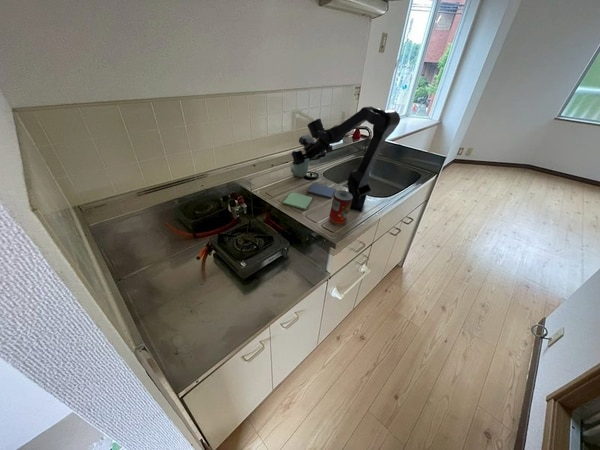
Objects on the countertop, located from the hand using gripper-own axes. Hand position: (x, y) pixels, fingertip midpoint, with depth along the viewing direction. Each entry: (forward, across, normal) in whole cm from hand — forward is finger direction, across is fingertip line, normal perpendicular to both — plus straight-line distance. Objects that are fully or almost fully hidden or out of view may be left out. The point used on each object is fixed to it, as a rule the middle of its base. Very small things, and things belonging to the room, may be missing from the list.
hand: (299, 161), depth 121 cm
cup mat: (-9, +18, +19) cm, 28 cm away
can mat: (-9, +3, +19) cm, 21 cm away
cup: (+4, 0, +6) cm, 7 cm away
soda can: (-23, +15, +33) cm, 43 cm away
